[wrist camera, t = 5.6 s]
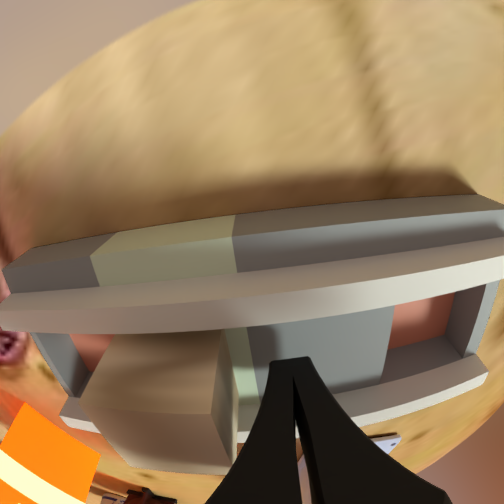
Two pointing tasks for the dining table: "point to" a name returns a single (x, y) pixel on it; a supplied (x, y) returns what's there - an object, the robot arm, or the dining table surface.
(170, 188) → the dining table surface
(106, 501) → the energy drink
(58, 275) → the track
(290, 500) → the robot arm
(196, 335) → the block
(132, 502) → the mate gourd
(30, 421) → the orange juice
